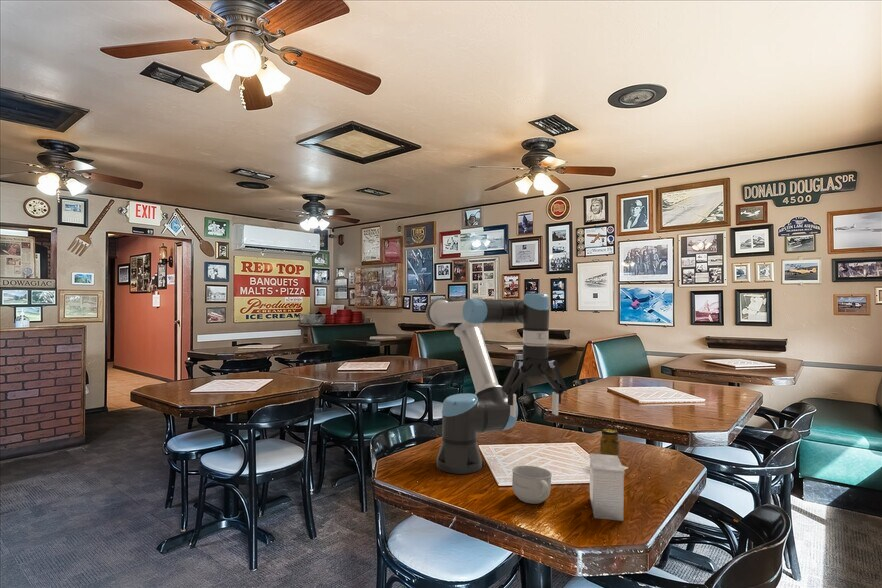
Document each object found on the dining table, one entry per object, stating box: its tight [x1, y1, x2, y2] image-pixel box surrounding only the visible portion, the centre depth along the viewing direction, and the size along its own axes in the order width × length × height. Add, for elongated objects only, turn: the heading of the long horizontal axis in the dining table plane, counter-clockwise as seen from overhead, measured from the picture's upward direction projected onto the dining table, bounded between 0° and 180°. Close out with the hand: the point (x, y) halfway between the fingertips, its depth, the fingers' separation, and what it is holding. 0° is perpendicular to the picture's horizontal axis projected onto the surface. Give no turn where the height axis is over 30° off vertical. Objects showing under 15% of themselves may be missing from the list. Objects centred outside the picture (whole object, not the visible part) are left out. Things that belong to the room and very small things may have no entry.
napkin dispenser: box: [589, 452, 626, 522], centre depth 123 cm, size 8×12×13 cm, turn 167°
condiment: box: [599, 428, 629, 471], centre depth 156 cm, size 7×8×12 cm
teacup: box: [511, 465, 553, 505], centre depth 128 cm, size 14×11×8 cm
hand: (534, 415), depth 139 cm, fingers open, 13 cm apart
